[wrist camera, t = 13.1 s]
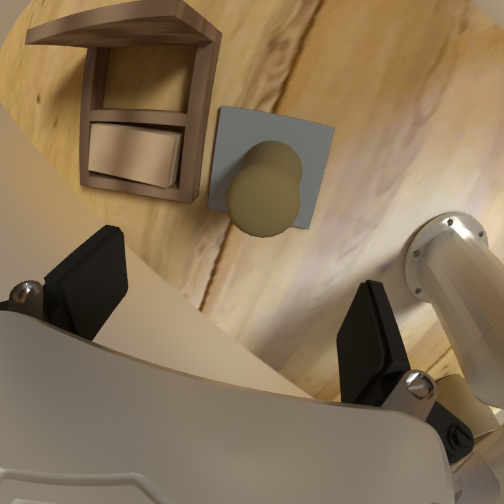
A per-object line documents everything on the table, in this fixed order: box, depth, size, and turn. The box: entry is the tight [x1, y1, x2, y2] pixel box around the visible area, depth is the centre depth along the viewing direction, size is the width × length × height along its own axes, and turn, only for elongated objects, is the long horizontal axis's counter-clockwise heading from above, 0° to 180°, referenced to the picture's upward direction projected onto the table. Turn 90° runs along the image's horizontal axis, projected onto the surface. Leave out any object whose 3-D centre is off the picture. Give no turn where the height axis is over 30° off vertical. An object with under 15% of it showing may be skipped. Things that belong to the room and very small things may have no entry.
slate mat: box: [208, 106, 335, 229], centre depth 28 cm, size 11×11×1 cm
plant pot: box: [436, 374, 500, 445], centre depth 35 cm, size 15×15×16 cm
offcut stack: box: [88, 121, 185, 188], centre depth 28 cm, size 10×5×4 cm, turn 76°
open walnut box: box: [25, 0, 222, 203], centre depth 22 cm, size 14×18×12 cm
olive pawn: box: [225, 140, 303, 238], centre depth 23 cm, size 6×6×11 cm
